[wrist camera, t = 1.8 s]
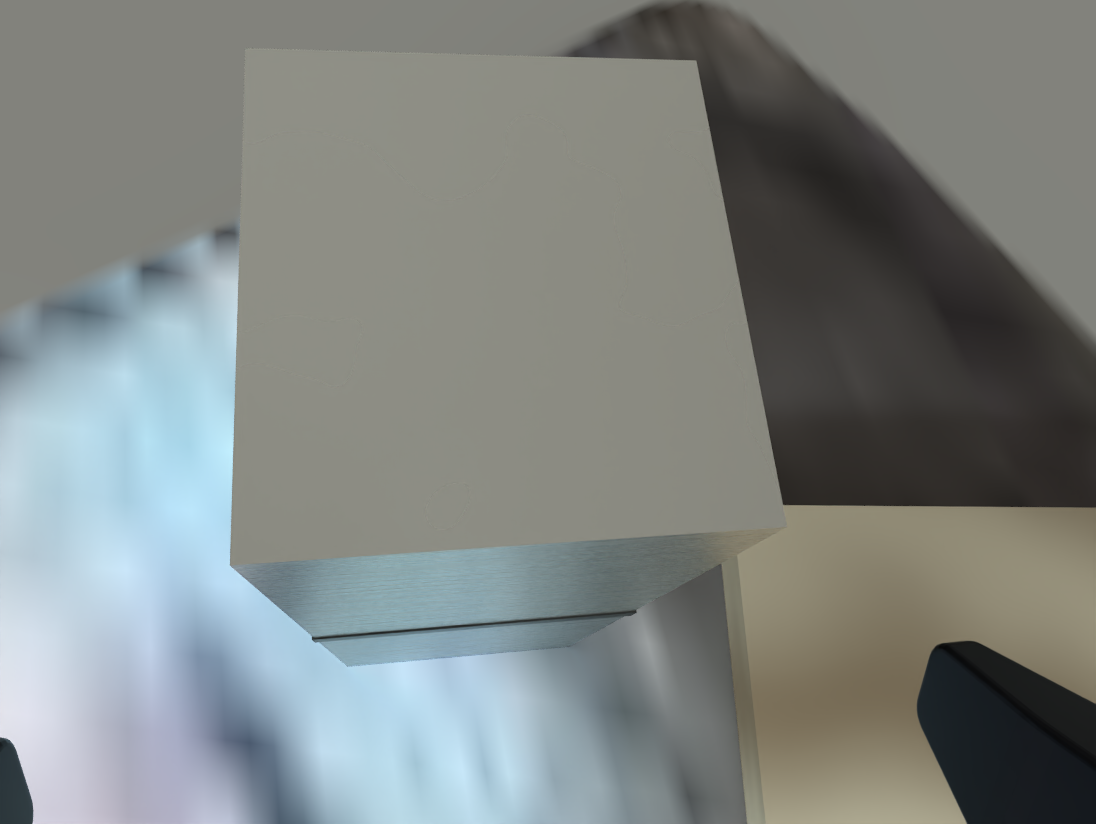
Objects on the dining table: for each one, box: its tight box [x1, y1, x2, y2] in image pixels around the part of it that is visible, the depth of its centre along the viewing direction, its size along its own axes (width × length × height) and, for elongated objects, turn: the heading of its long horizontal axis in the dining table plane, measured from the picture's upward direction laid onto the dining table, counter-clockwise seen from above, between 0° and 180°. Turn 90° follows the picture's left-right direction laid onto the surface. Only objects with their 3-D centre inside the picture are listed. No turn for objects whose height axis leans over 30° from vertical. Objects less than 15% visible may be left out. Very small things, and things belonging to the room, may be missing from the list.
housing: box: [230, 48, 787, 667], centre depth 14 cm, size 6×5×12 cm
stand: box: [721, 505, 1096, 824], centre depth 18 cm, size 10×10×3 cm
